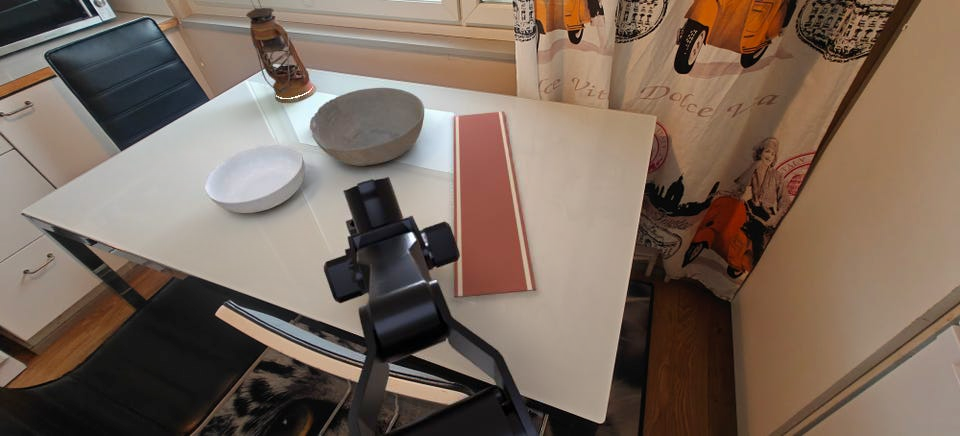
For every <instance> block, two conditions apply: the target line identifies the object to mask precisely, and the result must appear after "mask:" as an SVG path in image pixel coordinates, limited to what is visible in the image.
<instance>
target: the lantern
mask: <svg viewBox="0 0 960 436" xmlns="http://www.w3.org/2000/svg"><path fill="white" fill-rule="evenodd" d="M250 2H251V4H252V6H253V10H250V11H249V12H247V13H246V15H245V16H246V17H247V18H249V19H250V26H249V27H250V29H249V35H250V37H251V41H252V45H253V47H254V49H255V51H256V55H257V59H258V61H259V66H260V71H261V75H262V76H263V78H264V80H265V81H266V83H267V84H268V85H269V86H270V87H271V88H272V89H273V91H274V93H275V94H274V99H275V101H277V102H279V103H283V104H286V103H287V104H290V103H297V102H301V101H304V100H306V99H308V98H309V97H311V96H313V94H315V92H316V91H317V87H316V86H315V85H314V84H313V83H312V82H311V79H310V75H309V72H308V70H307V68H306V66H305V64H304V63H303V60H302V58H301V56H300V55H299V53H298V50H297V48H296V47H295V45H294V43H293V42H292V40H291V38H290V36H289V33H288V31H287V30H285V28H284V27H283V26H282V25H280V23H279V22H278V20H277V17H276V16H275V15H273V13H274V8H271V7H262V5H261V2H260V0H258V4H259V7H260V8H256V7H255V5H254V4H253V1H252V0H250ZM286 48H287V50H286ZM276 52H283V54H282V55H280V56H279V57H278V58H277V59H274V58H273V57H272V56H273V54H274V53H276ZM269 53H270V56H269V55H268V54H269ZM291 56H292V58H293V60H294V61H295V63H296V65H295V64H290V63H289V62H290V61H289V58H290V57H291ZM284 57H286V58H285V59H284V61H283V62H281V64H280V65H278V67H276V66H274V65H275V64H276V63H277V62H278V61H280V60H282V59H283V58H284ZM286 62H287V63H286ZM285 63H286V65H284V64H285ZM262 66H263V67H262ZM263 68H264V69H265V72H266V74H267V75H268V76H269V77H270V78H272V80H274V83H273V85H272V84H271V83H270V82H269V81H268V79H267V77H266V76H265V73H264V70H263ZM312 86H313V88H312ZM311 88H312V90H311V91H310V92H309V93H307V94H305V95H303V96H300V97H298V98H293V99H280V98H278V97H276V95H277V96H279V97H282V98H291V97H295V96H298V95H302V94H304V93H306V92H308V91H309V90H310V89H311Z"/></svg>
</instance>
